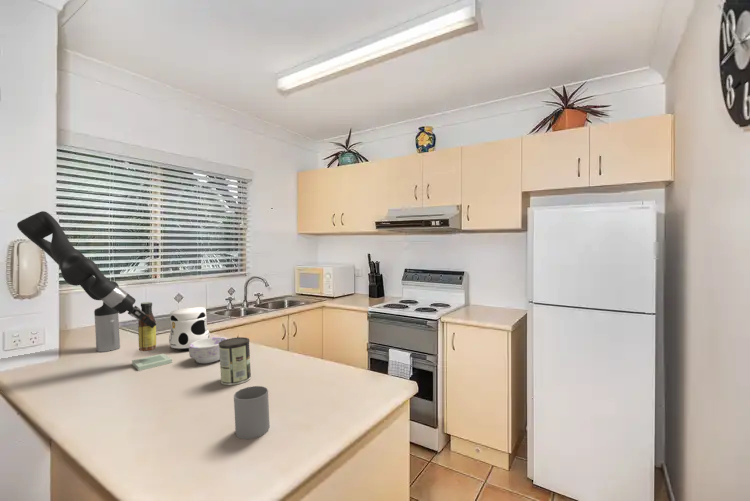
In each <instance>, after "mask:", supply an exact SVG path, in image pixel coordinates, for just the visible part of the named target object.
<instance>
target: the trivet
mask: <svg viewBox="0 0 750 501" xmlns="http://www.w3.org/2000/svg"><path fill="white" fill-rule="evenodd" d="M172 363H173V359H172V358H171V357H170V356H168V355H166V354H165V353H160V354H156V355H150V356H145V357H141V358H137V359H133V360H131V364H132V365H133V367H134V368H135V369H136V370H137V371H139V372H140V371H143V370H147V369H152V368H155V367H160V366H164V365H170V364H172Z"/></svg>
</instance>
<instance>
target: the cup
mask: <svg viewBox="0 0 750 501" xmlns="http://www.w3.org/2000/svg"><path fill="white" fill-rule="evenodd" d="M233 404H234V405H233V406H234V408H233V409H234V429H235V435H236V437H237V438H239V439H241V440H252V439H257V438H259V437H261V436H264V435H266V433H268V432H269V430H270V426H271V425H270V406H269V404H270V402H269V389H268V388H267V387H265V386H262V385H255V386H254V385H253V386H247V387H244V388H241V389H240V390H237V391H236V392H235V393H234V394H233Z"/></svg>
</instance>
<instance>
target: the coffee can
mask: <svg viewBox="0 0 750 501" xmlns="http://www.w3.org/2000/svg"><path fill="white" fill-rule="evenodd" d="M219 351H220V360H219V364H220V366H219V368H220V383H221V384H222V385H223V386H237V385H241V384H244V383H246V382H248V381H250V380H251V378H252V374H251V373H252V372H251V357H250V356H251V355H250V354H251V352H250V351H251V350H250V338H249V337H232V338H227V339H226V340H223V341H221V342H219Z"/></svg>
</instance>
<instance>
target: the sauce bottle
mask: <svg viewBox="0 0 750 501" xmlns="http://www.w3.org/2000/svg"><path fill="white" fill-rule="evenodd" d="M140 307H141V308H140V310H141V311H143V312H144V313H145V314H146V316H147V317H149V318H150V319H151V320H152V321H153V322H155V323H156V322H157V321H156V319H155V316H154V312H153V302H151V301H145V302H140ZM145 318H146V317H145V316H144V317H143V318H142V320H144V319H145ZM137 321H138V326H137V327H138V331H137V332H138V336H137V337H138V350H139V351H140V352H150V351H151V352H152V351H154V350H156V347H157V323H156V325H155V326H154V327H153V328H151V327H150V326H149V325H147V324H146V323H143V321H141V320H137Z"/></svg>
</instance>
